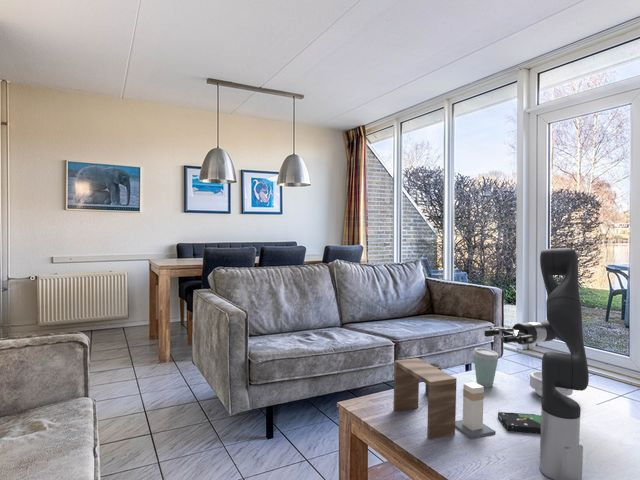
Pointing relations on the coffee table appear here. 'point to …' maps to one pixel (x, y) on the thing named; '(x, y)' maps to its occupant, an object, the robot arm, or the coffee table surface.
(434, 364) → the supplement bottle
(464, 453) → the coffee table surface
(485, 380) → the disposable coffee cup
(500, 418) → the disk drive
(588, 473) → the coffee table surface
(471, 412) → the carton
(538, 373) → the paper bowls
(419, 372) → the shelf bay
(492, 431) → the mat
